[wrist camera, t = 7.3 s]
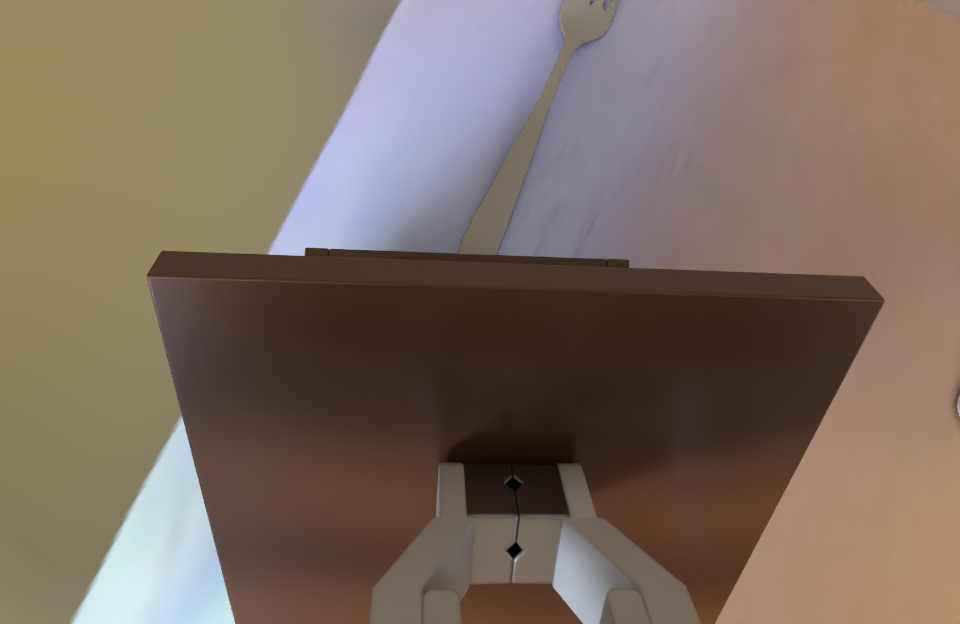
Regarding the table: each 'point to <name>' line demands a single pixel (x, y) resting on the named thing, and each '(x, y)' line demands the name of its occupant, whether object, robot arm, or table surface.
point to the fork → (532, 130)
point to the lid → (489, 409)
